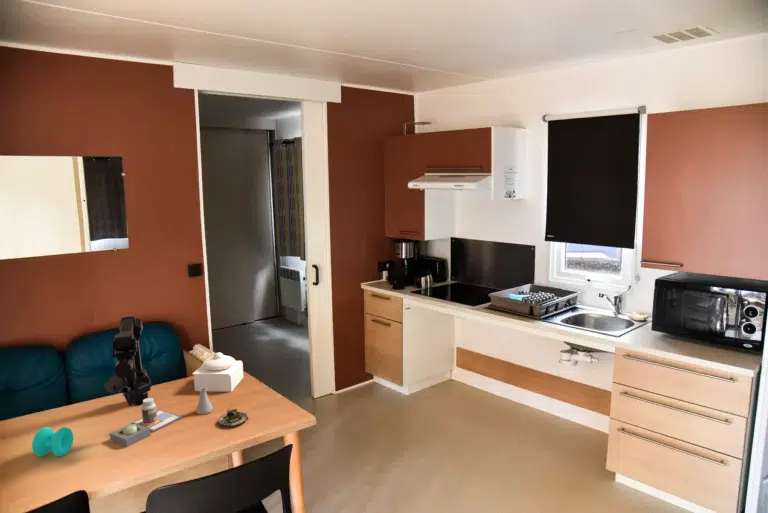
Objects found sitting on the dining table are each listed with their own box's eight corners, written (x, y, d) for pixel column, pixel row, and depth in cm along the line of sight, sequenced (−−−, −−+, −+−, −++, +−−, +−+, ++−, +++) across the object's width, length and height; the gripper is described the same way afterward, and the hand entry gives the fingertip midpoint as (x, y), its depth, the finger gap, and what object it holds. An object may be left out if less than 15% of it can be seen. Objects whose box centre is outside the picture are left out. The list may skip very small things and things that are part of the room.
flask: (216, 407, 231) (214, 385, 229) (209, 415, 224) (207, 392, 222) (199, 407, 232) (198, 385, 230) (192, 414, 225) (190, 392, 223)
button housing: (110, 440, 204) (109, 433, 203) (134, 429, 212) (133, 422, 212) (127, 447, 199) (126, 439, 198) (150, 435, 207) (149, 428, 207)
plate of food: (216, 430, 211) (215, 412, 210) (219, 417, 222) (218, 400, 221) (247, 427, 214) (246, 409, 212) (248, 414, 225) (247, 397, 224)
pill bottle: (140, 422, 216) (138, 400, 215) (153, 418, 220) (151, 395, 219) (146, 426, 213) (144, 403, 211) (159, 422, 217) (157, 399, 215)
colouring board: (130, 424, 217) (130, 422, 216) (160, 410, 228) (160, 409, 228) (153, 432, 210) (153, 430, 209) (182, 418, 222) (182, 416, 221)
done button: (121, 438, 205) (120, 428, 204) (132, 432, 209) (131, 423, 208) (128, 441, 202) (127, 431, 202) (140, 435, 206) (139, 425, 206)
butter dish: (231, 392, 247) (229, 359, 245) (193, 391, 248) (191, 359, 246) (243, 377, 265) (241, 346, 262) (208, 377, 266) (206, 346, 263)
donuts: (50, 447, 200) (47, 422, 198) (76, 447, 199) (73, 422, 198) (32, 461, 190) (28, 435, 188) (59, 461, 190) (56, 435, 188)
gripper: (92, 370, 201) (96, 408, 204) (122, 379, 192) (126, 420, 195) (119, 360, 211) (123, 397, 214) (149, 369, 202) (153, 407, 204)
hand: (130, 405), depth 206 cm, fingers closed
